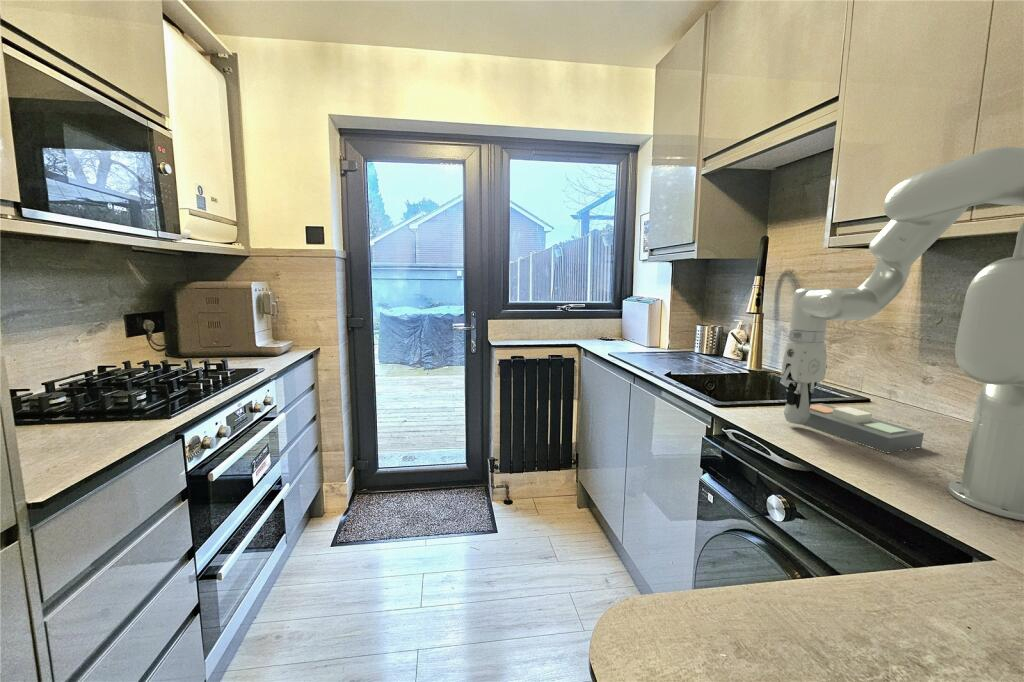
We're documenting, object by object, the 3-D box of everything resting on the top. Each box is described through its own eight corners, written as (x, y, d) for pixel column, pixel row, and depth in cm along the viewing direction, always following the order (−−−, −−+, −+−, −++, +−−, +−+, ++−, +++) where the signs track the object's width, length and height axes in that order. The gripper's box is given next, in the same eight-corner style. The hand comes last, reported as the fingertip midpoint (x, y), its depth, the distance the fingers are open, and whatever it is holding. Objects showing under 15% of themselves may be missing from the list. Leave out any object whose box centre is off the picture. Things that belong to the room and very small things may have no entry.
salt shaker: (808, 427, 108) (814, 376, 106) (781, 422, 111) (787, 373, 109) (809, 421, 112) (815, 372, 110) (784, 416, 116) (789, 369, 114)
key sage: (903, 444, 100) (906, 430, 100) (887, 447, 99) (890, 432, 98) (877, 436, 106) (879, 422, 105) (861, 438, 104) (863, 424, 103)
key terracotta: (838, 423, 114) (840, 410, 114) (823, 425, 113) (824, 412, 112) (817, 417, 120) (819, 404, 119) (802, 418, 118) (804, 406, 117)
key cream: (869, 427, 107) (871, 413, 106) (854, 429, 105) (856, 415, 105) (846, 420, 112) (848, 406, 112) (831, 422, 111) (833, 408, 110)
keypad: (921, 447, 100) (923, 433, 99) (886, 453, 96) (889, 438, 95) (819, 415, 122) (821, 403, 122) (788, 418, 118) (790, 406, 118)
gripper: (796, 340, 102) (787, 414, 105) (844, 338, 107) (835, 408, 110) (769, 335, 109) (761, 405, 112) (815, 334, 114) (807, 400, 117)
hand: (798, 406), depth 111 cm, fingers closed on salt shaker, 3 cm apart
